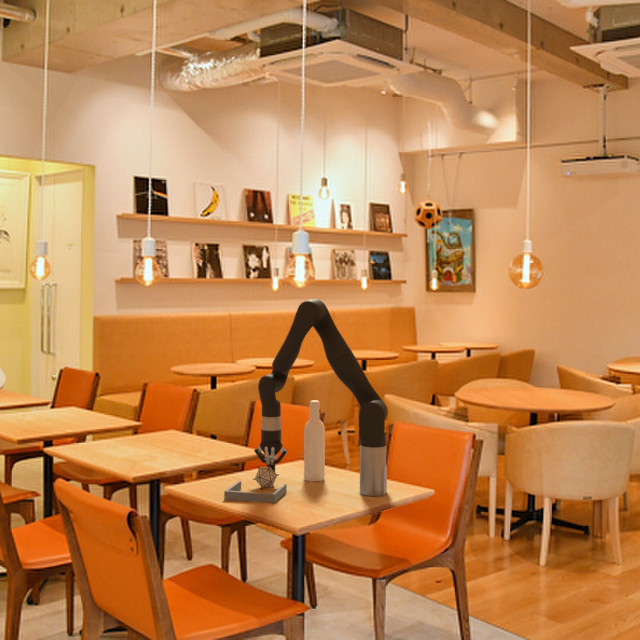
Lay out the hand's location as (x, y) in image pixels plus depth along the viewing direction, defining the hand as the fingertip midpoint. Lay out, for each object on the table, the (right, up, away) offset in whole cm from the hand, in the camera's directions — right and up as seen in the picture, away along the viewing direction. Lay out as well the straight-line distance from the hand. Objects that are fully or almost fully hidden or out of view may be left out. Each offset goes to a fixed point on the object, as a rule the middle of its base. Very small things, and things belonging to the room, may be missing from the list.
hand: (271, 474), depth 311 cm
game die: (-1, -4, -6) cm, 7 cm away
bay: (-4, -4, -18) cm, 19 cm away
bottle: (+16, -4, +7) cm, 18 cm away
